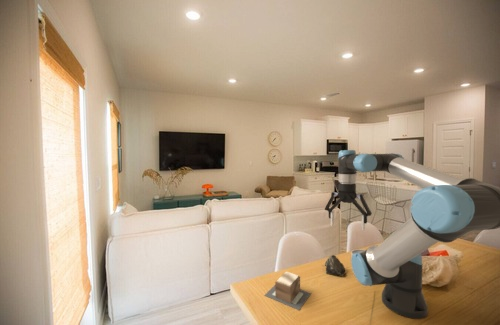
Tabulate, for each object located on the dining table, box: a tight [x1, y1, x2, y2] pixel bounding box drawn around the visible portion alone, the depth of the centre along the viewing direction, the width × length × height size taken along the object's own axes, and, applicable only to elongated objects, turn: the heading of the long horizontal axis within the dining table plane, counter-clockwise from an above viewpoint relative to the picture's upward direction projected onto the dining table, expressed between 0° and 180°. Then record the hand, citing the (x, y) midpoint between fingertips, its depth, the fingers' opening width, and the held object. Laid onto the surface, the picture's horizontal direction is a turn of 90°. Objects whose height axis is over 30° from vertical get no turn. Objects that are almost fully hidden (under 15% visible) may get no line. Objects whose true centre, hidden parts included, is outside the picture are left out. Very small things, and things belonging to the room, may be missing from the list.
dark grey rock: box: [324, 254, 346, 277], centre depth 114 cm, size 11×9×10 cm
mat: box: [263, 284, 312, 311], centre depth 96 cm, size 16×13×1 cm
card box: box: [274, 271, 301, 303], centre depth 96 cm, size 10×7×7 cm
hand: (347, 227), depth 104 cm, fingers open, 13 cm apart
